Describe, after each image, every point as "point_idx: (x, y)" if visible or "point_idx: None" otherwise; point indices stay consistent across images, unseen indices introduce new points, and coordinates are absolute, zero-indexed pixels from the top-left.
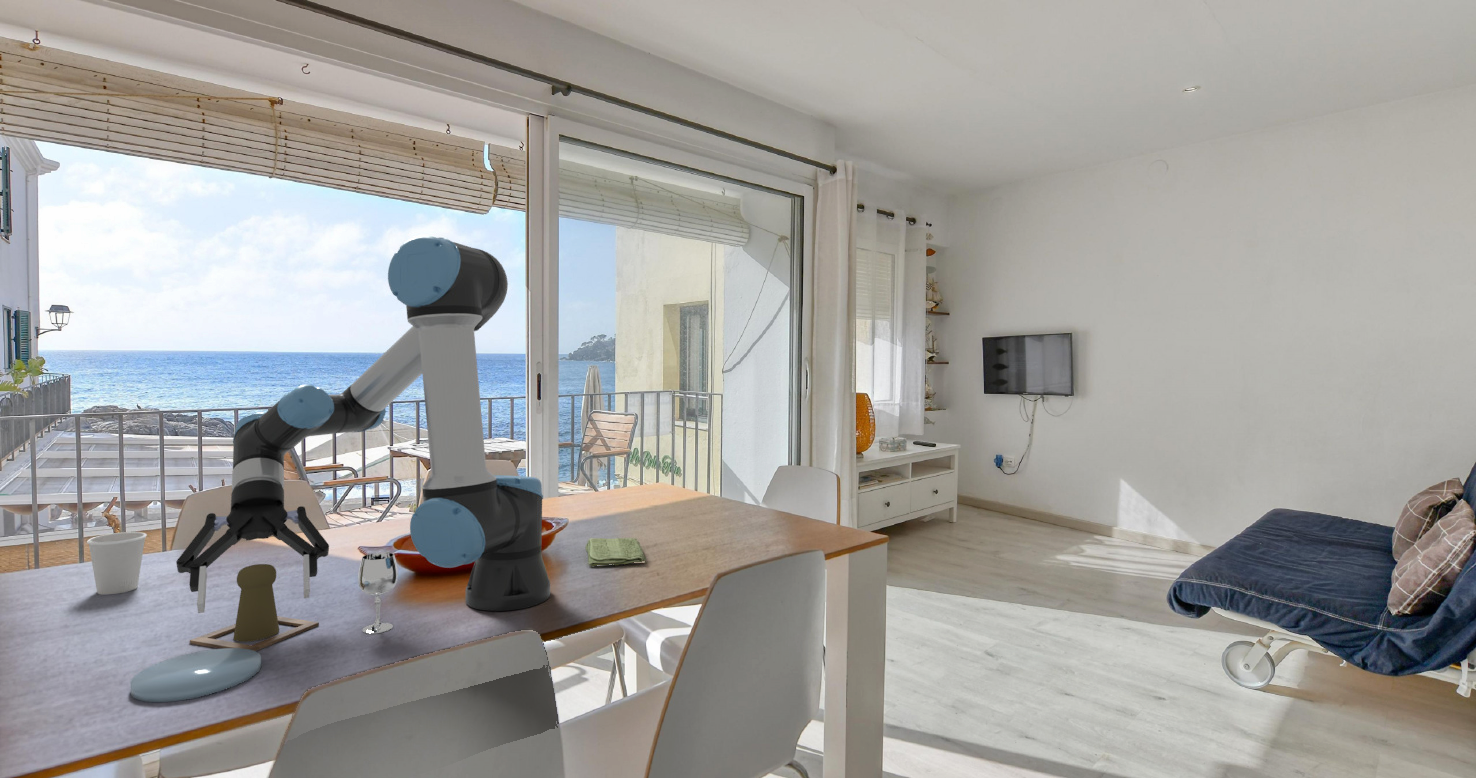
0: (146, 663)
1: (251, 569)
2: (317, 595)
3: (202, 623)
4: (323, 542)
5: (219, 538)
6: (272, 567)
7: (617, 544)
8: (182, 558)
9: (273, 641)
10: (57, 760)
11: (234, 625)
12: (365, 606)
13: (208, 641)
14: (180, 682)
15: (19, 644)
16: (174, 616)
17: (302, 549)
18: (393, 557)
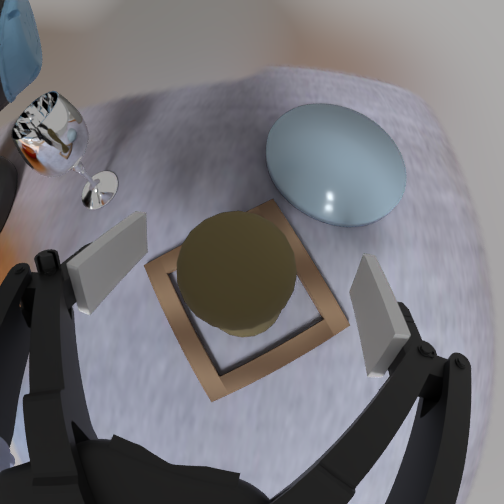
0: (399, 265)
1: (257, 232)
2: None
3: (313, 433)
4: (10, 280)
5: (378, 457)
6: (187, 241)
7: None
8: (463, 371)
9: None
10: (408, 92)
11: (272, 364)
12: None
13: (324, 294)
14: (356, 129)
15: (481, 441)
16: None
17: (63, 299)
18: (29, 108)
